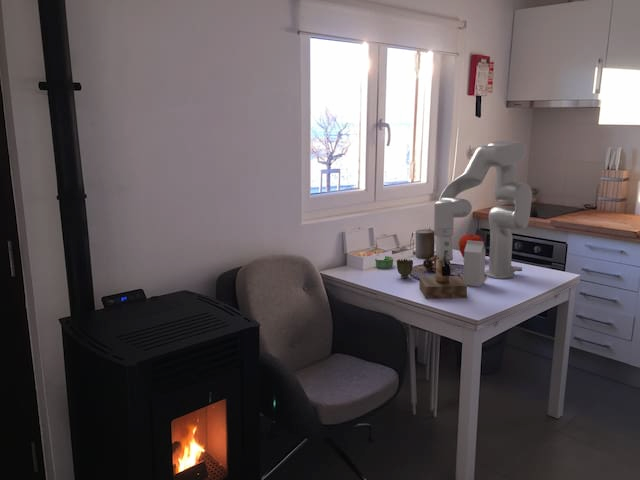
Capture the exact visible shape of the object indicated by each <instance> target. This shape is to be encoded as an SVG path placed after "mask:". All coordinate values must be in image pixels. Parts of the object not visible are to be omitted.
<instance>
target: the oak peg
mask: <svg viewBox="0 0 640 480" xmlns="http://www.w3.org/2000/svg"><path fill="white" fill-rule="evenodd" d="M436 259H437V258H436ZM444 263H445V261H444ZM442 266H443V263H442V261H441V260H440V259H437V260H436V264H435V277H436V282H438V283H448V282H449V276H442Z"/></svg>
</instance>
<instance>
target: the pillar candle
mask: <svg viewBox="0 0 640 480" xmlns="http://www.w3.org/2000/svg"><path fill="white" fill-rule="evenodd" d="M434 256H435V235H434V229H428V228H424V229H417V230H415V257H416V258H417V259H422V260H423V259H424V260H426V259H430V258H431V257H434Z"/></svg>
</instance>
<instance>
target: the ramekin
mask: <svg viewBox="0 0 640 480" xmlns="http://www.w3.org/2000/svg"><path fill="white" fill-rule="evenodd" d="M384 256H385V259H384V260H377V259H375V258H374V259H375V266H377V267H376V268H378V269H382V270H384V269H386V270H387V269H392V268H393V265H394V264H393V263H394V257H392V256H389V255H384Z"/></svg>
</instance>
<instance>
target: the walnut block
mask: <svg viewBox="0 0 640 480" xmlns="http://www.w3.org/2000/svg"><path fill="white" fill-rule="evenodd" d="M418 285H419V286H418V287H419V290H420V292H421V293H422V295H423V297H424V300H429V299H430V300H433V299H439V300H440V299H466V298H467V295H468V294H467V293H468V285H466V284H465V283H464V282H463V279H462V278H461V277H460V276H459V275H450V276H449V282H448V283H438V282H436V276H419V284H418Z"/></svg>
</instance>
